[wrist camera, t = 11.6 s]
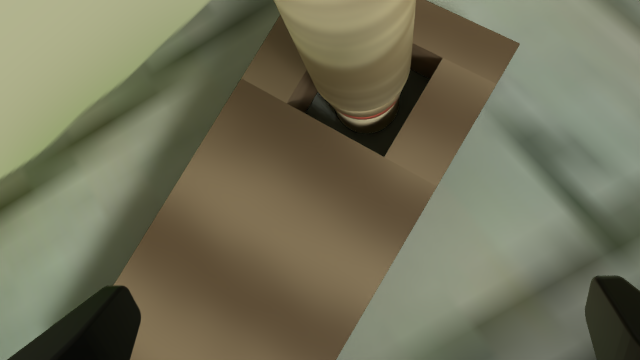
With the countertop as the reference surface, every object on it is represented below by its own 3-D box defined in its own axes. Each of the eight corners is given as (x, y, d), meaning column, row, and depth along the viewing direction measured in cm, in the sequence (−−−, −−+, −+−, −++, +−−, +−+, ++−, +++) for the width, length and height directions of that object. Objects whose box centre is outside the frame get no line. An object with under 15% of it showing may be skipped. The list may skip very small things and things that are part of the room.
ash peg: (397, 148, 23) (400, -4, 9) (319, 132, 24) (216, -32, 10) (415, 72, 24) (444, -180, 10) (338, 58, 24) (264, -194, 11)
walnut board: (245, 514, 22) (221, 555, 19) (83, 386, 24) (39, 405, 21) (504, 70, 23) (520, 43, 20) (328, -14, 25) (319, -49, 22)
